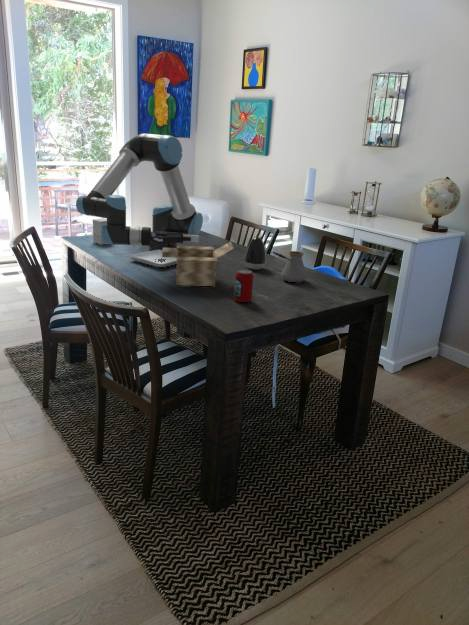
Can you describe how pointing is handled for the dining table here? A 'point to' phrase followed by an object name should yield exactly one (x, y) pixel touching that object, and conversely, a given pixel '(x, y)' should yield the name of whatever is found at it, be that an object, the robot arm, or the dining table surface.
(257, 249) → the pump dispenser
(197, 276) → the carton
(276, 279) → the dining table surface
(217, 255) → the carton flap
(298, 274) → the coffee pot
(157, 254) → the salad plate
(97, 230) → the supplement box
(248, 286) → the beverage can
